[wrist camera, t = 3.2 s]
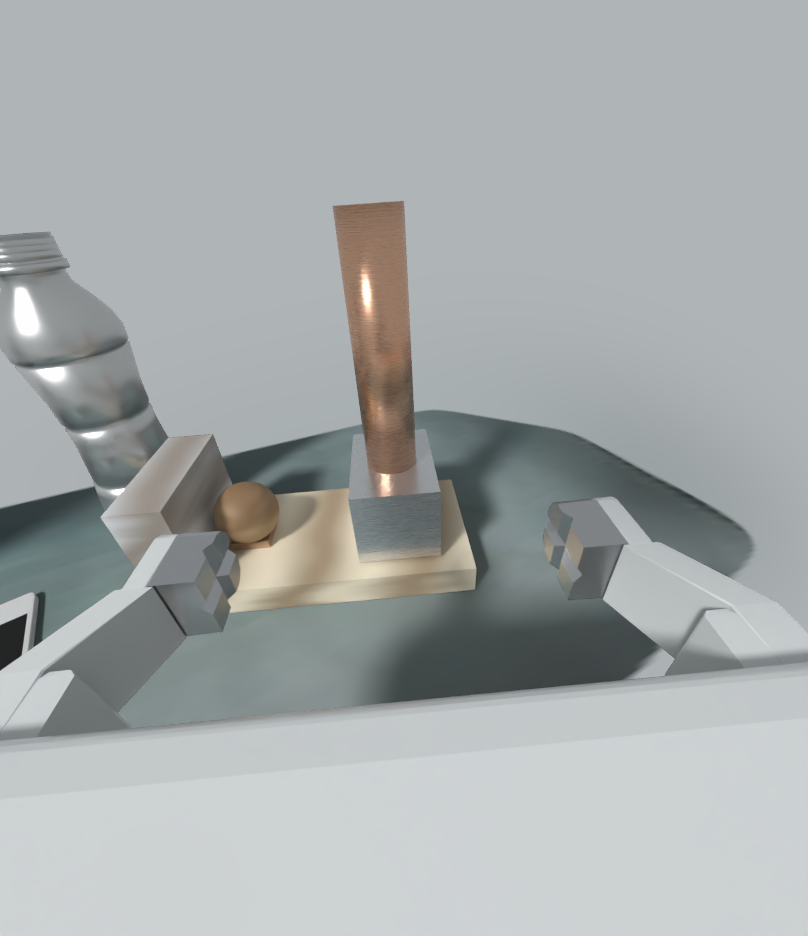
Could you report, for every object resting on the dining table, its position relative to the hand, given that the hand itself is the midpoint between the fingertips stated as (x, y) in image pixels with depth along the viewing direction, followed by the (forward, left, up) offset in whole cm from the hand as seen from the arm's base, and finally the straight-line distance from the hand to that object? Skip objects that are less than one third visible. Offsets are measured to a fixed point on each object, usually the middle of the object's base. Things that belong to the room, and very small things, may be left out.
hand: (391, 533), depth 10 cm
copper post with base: (0, +13, -11) cm, 17 cm away
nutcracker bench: (-5, +13, -13) cm, 19 cm away
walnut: (-10, +13, -11) cm, 20 cm away
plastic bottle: (-19, +19, -14) cm, 30 cm away
